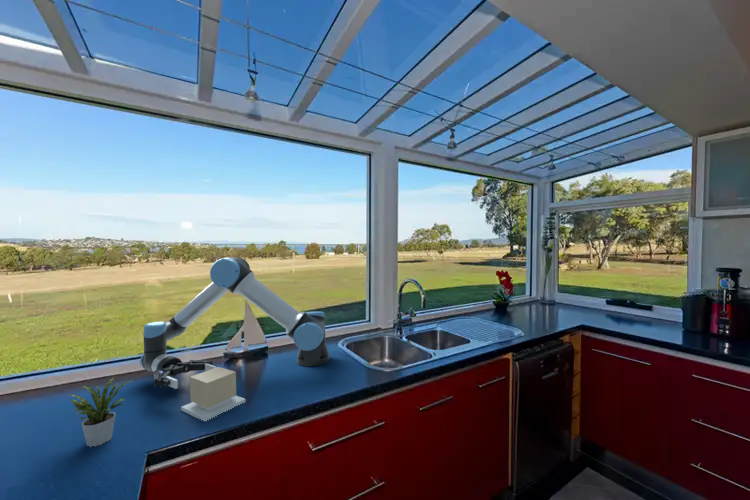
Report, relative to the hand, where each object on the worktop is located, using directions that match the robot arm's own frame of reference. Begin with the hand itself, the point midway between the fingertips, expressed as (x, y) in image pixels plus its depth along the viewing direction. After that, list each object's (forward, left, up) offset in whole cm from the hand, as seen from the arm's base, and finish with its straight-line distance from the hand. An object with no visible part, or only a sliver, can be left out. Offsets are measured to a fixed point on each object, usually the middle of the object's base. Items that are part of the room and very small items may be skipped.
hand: (197, 377), depth 109 cm
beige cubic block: (-8, +6, -5) cm, 11 cm away
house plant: (+16, +20, -8) cm, 27 cm away
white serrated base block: (-8, +6, -8) cm, 13 cm away
